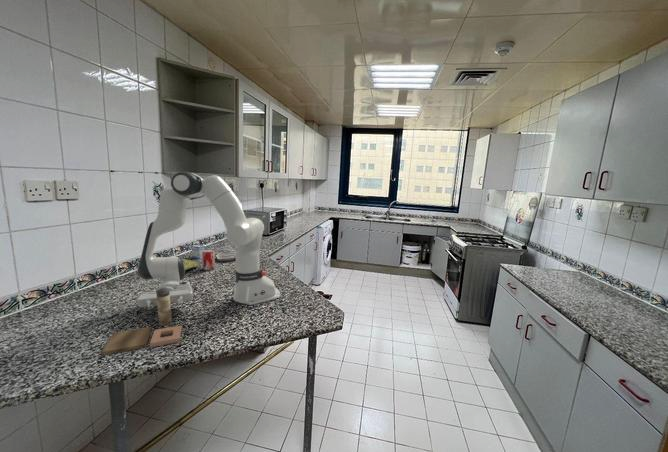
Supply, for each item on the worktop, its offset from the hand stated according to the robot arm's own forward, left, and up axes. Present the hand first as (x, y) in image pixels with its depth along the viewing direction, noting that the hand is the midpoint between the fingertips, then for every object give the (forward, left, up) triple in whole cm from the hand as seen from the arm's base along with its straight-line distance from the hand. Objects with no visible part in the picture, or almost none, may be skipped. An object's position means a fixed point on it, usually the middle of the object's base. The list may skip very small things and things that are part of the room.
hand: (164, 305), depth 111 cm
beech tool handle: (0, 0, -8) cm, 8 cm away
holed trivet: (-2, +12, -8) cm, 14 cm away
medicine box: (-9, -91, -8) cm, 92 cm away
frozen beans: (+4, -68, -8) cm, 69 cm away
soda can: (-16, -63, -8) cm, 65 cm away
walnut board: (+10, +10, -8) cm, 16 cm away
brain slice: (-29, -83, -8) cm, 88 cm away
